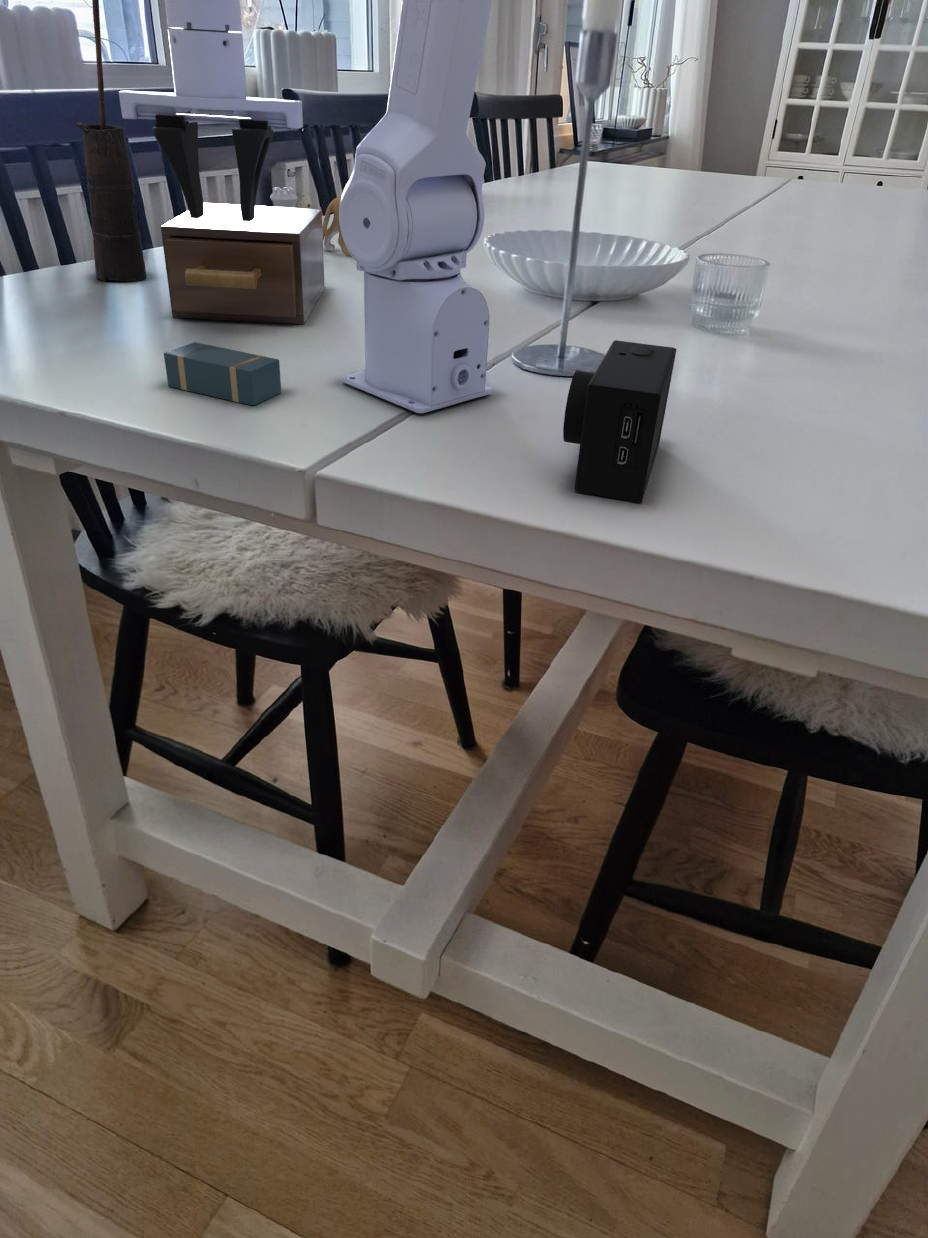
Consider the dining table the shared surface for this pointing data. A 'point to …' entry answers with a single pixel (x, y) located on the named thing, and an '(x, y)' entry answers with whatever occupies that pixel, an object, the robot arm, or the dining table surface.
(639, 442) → the digital camera
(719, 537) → the dining table surface
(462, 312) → the robot arm
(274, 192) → the rook chess piece
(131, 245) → the butter churn
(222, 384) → the bundle
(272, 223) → the cabinet
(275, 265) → the drawer
